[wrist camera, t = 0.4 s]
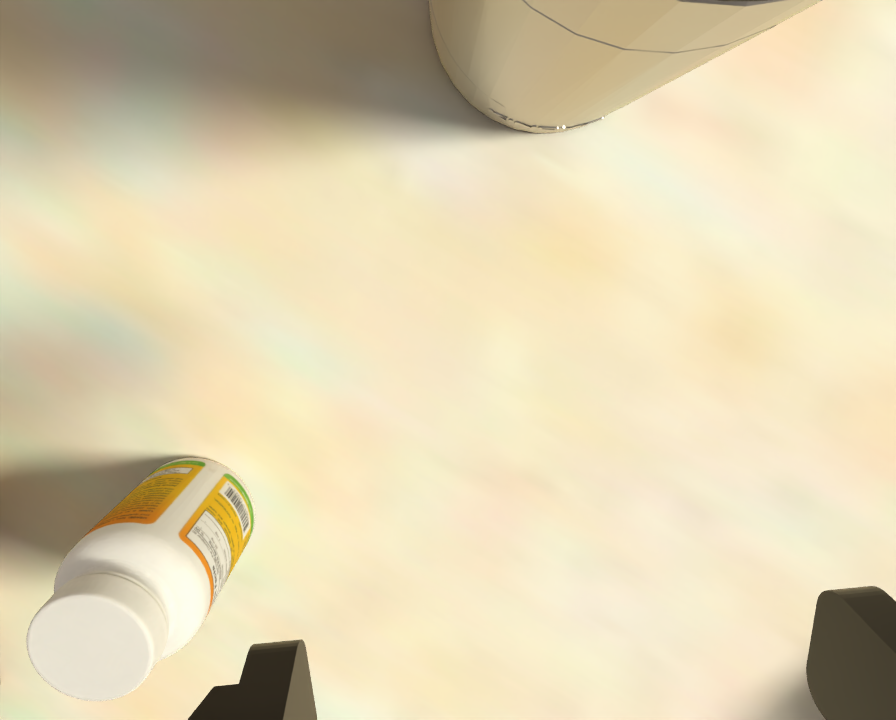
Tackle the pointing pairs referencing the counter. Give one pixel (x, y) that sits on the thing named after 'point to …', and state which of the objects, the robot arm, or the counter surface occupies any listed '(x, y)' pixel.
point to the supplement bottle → (142, 580)
